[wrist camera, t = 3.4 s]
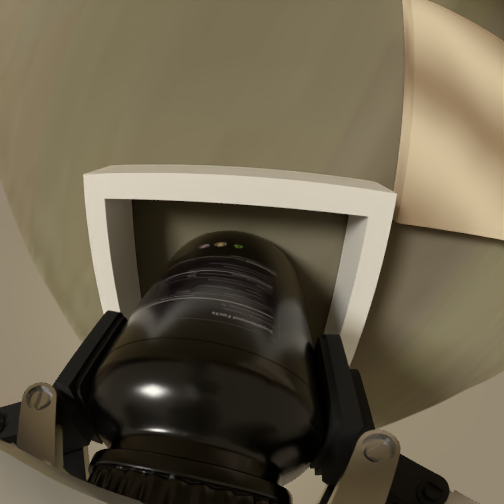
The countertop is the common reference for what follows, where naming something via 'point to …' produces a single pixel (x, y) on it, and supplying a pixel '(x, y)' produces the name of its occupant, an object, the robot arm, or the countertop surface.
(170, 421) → the supplement bottle
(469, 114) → the board
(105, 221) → the white square frame
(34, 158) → the countertop surface
